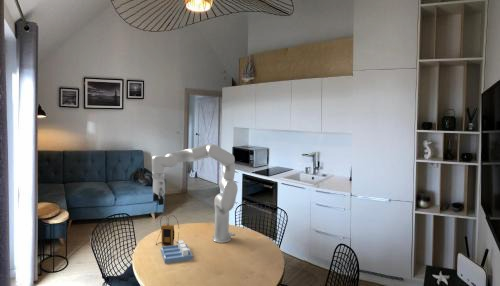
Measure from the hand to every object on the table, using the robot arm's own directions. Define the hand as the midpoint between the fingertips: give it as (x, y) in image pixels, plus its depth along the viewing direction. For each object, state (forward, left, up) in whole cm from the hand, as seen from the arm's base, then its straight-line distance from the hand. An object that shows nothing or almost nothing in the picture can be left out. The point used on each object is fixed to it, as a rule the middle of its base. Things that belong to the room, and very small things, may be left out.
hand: (158, 202), depth 201 cm
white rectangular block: (-13, +14, -27) cm, 33 cm away
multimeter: (-8, -6, -29) cm, 31 cm away
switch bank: (-9, +14, -29) cm, 33 cm away
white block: (-13, +8, -27) cm, 31 cm away
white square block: (-13, +20, -27) cm, 36 cm away
